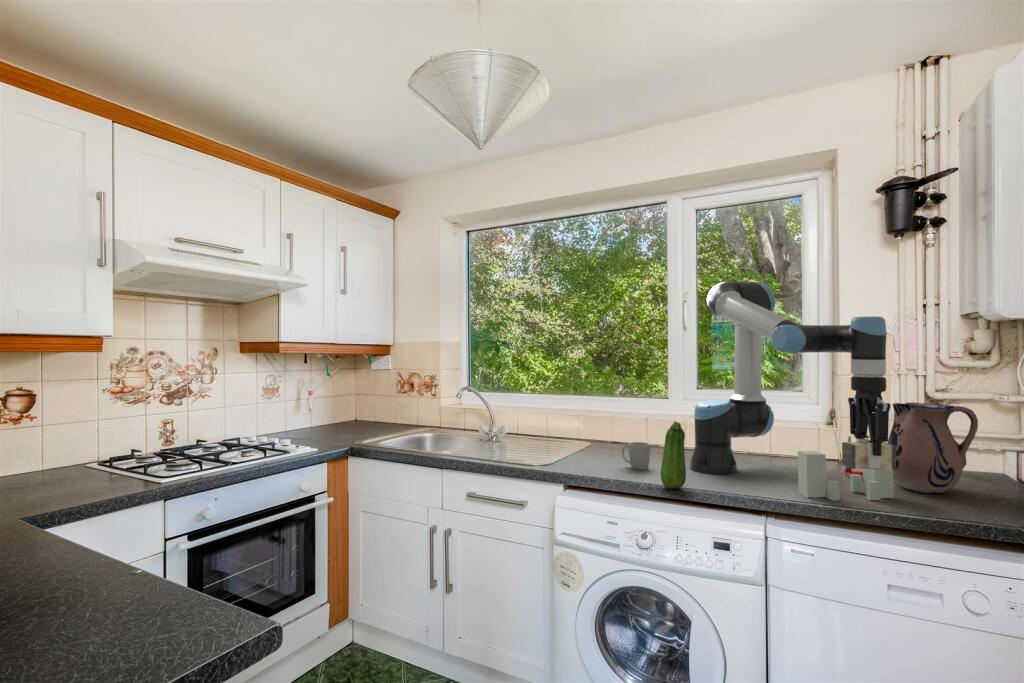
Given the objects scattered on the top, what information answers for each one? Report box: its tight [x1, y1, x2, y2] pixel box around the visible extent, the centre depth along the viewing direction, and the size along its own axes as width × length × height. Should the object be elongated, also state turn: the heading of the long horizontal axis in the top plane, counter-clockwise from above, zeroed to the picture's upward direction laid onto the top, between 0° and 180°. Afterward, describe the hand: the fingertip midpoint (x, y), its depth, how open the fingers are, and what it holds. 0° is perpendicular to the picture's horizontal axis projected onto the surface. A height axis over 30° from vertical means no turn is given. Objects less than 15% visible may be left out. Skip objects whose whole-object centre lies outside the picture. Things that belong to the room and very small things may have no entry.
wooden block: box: [841, 441, 896, 470], centre depth 132 cm, size 11×4×6 cm, turn 87°
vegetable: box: [660, 420, 687, 490], centre depth 152 cm, size 7×7×20 cm
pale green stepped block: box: [797, 450, 841, 501], centre depth 143 cm, size 8×9×12 cm
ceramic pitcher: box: [887, 401, 979, 494], centre depth 148 cm, size 18×21×25 cm
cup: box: [621, 441, 652, 471], centre depth 178 cm, size 8×10×8 cm
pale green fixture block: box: [849, 469, 895, 501], centre depth 143 cm, size 8×9×12 cm
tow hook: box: [843, 435, 863, 480], centre depth 164 cm, size 8×13×9 cm
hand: (868, 465), depth 132 cm, fingers closed on wooden block, 4 cm apart
